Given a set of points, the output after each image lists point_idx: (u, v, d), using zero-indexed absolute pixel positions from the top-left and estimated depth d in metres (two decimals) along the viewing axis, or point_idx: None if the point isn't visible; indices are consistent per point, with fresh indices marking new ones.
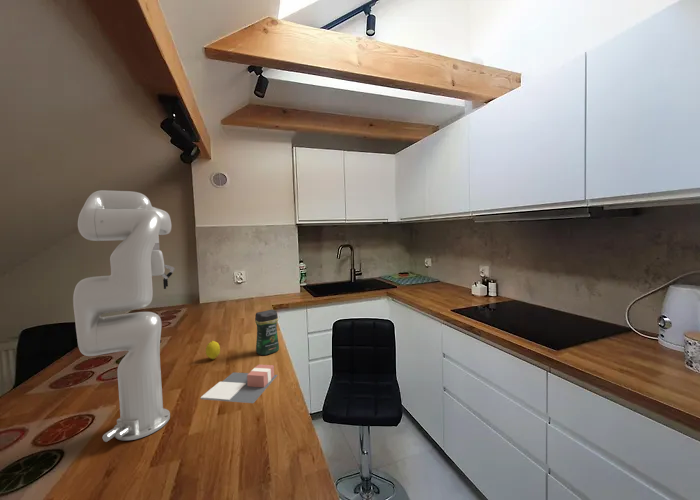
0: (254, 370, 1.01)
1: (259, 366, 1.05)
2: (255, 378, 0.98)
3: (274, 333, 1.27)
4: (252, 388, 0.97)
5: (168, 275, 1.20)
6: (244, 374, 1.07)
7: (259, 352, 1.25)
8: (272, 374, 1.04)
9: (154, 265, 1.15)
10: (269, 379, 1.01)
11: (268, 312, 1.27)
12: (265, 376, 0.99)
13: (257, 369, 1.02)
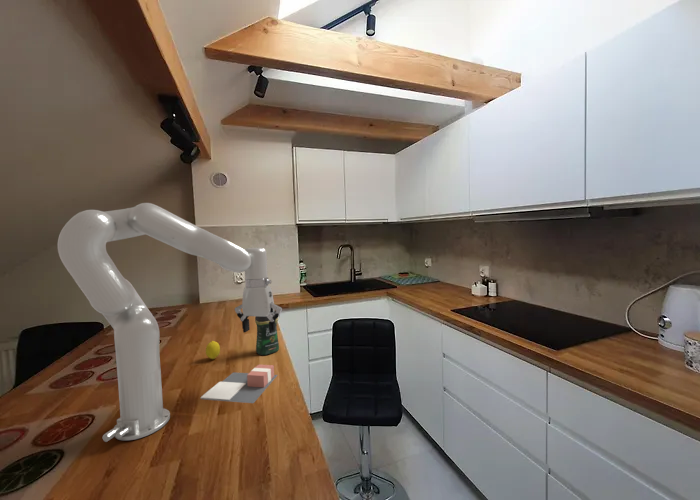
0: (254, 370, 1.01)
1: (259, 366, 1.05)
2: (255, 378, 0.98)
3: (274, 333, 1.27)
4: (252, 388, 0.97)
5: None
6: (244, 374, 1.07)
7: (259, 352, 1.25)
8: (272, 374, 1.04)
9: None
10: (269, 379, 1.01)
11: None
12: (265, 376, 0.99)
13: (257, 369, 1.02)
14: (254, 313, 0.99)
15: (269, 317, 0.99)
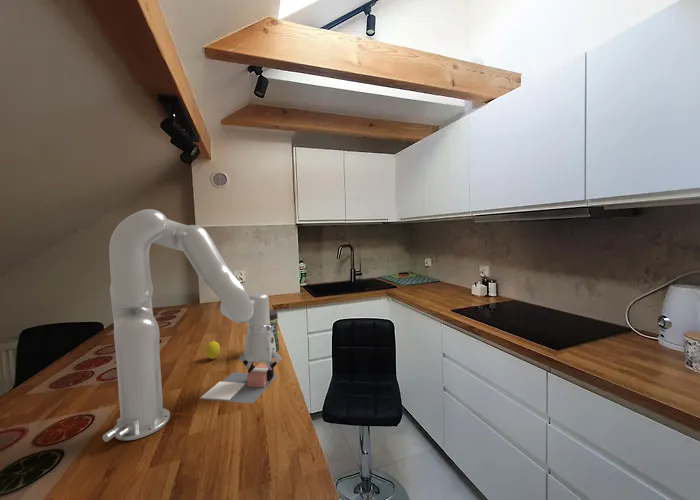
0: (254, 370, 1.01)
1: (259, 366, 1.05)
2: (255, 378, 0.98)
3: (274, 333, 1.27)
4: (252, 388, 0.97)
5: None
6: (244, 374, 1.07)
7: None
8: None
9: None
10: None
11: None
12: (265, 376, 0.99)
13: (258, 369, 1.02)
14: (256, 359, 0.99)
15: (268, 365, 1.00)
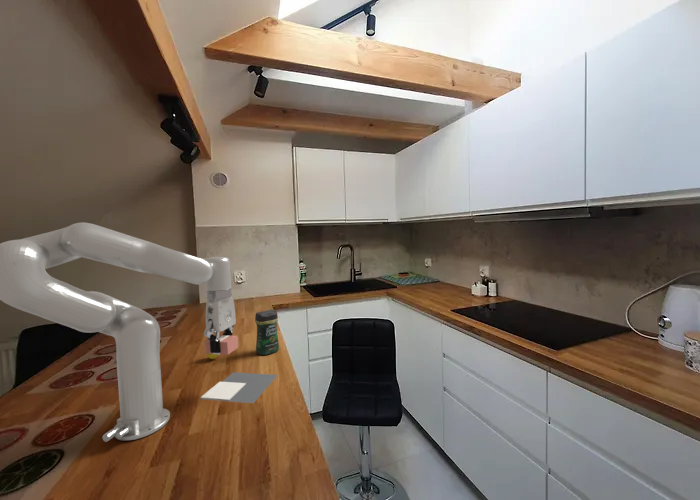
0: (223, 336, 0.97)
1: (231, 336, 0.97)
2: None
3: (274, 333, 1.27)
4: (252, 388, 0.97)
5: (232, 328, 1.00)
6: (244, 374, 1.07)
7: (259, 352, 1.25)
8: (223, 350, 0.92)
9: (231, 314, 0.96)
10: None
11: (268, 312, 1.27)
12: (208, 344, 0.93)
13: (224, 337, 0.96)
14: None
15: None
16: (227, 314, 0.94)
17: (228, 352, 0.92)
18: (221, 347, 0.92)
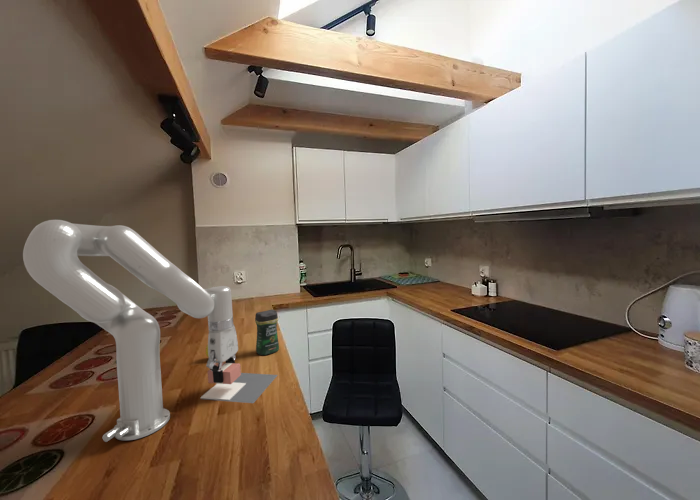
0: (226, 364, 0.98)
1: (234, 365, 0.97)
2: None
3: (274, 333, 1.27)
4: (252, 388, 0.97)
5: (234, 355, 1.01)
6: (244, 374, 1.07)
7: (259, 352, 1.25)
8: (226, 380, 0.93)
9: (233, 343, 0.97)
10: None
11: (268, 312, 1.27)
12: (211, 373, 0.94)
13: (226, 365, 0.97)
14: None
15: None
16: (229, 343, 0.95)
17: (231, 381, 0.93)
18: (224, 377, 0.93)
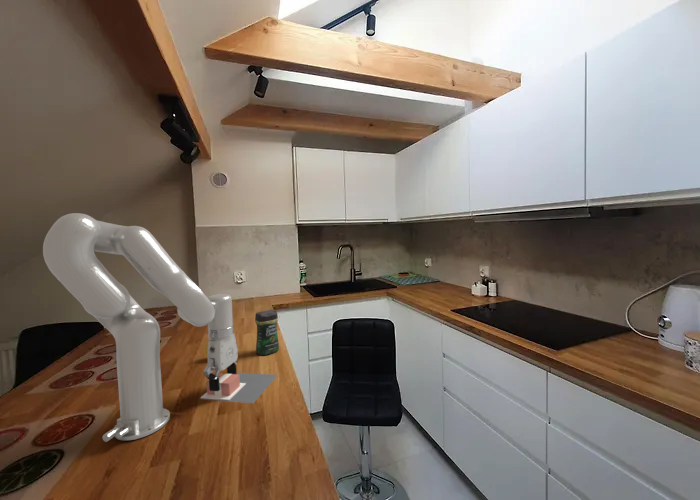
0: (225, 375, 0.98)
1: (233, 375, 0.97)
2: None
3: (274, 333, 1.27)
4: (252, 388, 0.97)
5: None
6: (244, 374, 1.07)
7: (259, 352, 1.25)
8: (225, 391, 0.93)
9: (233, 351, 0.97)
10: (218, 392, 0.93)
11: (268, 312, 1.27)
12: None
13: (225, 376, 0.97)
14: None
15: None
16: (229, 352, 0.95)
17: (230, 393, 0.93)
18: (223, 388, 0.93)
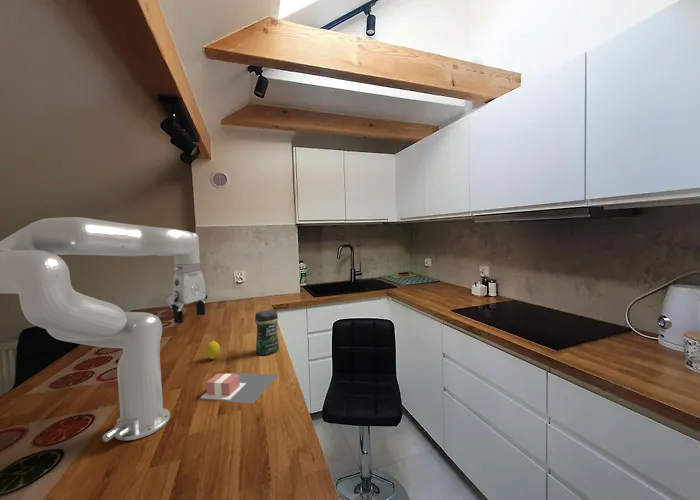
0: (225, 375, 0.98)
1: (233, 375, 0.97)
2: None
3: (274, 333, 1.27)
4: (252, 388, 0.97)
5: (205, 299, 1.05)
6: (244, 374, 1.07)
7: (259, 352, 1.25)
8: (225, 391, 0.93)
9: (199, 288, 1.00)
10: (218, 392, 0.93)
11: (268, 312, 1.27)
12: (210, 384, 0.93)
13: (225, 376, 0.97)
14: None
15: None
16: (195, 288, 0.98)
17: (230, 393, 0.93)
18: (223, 388, 0.93)
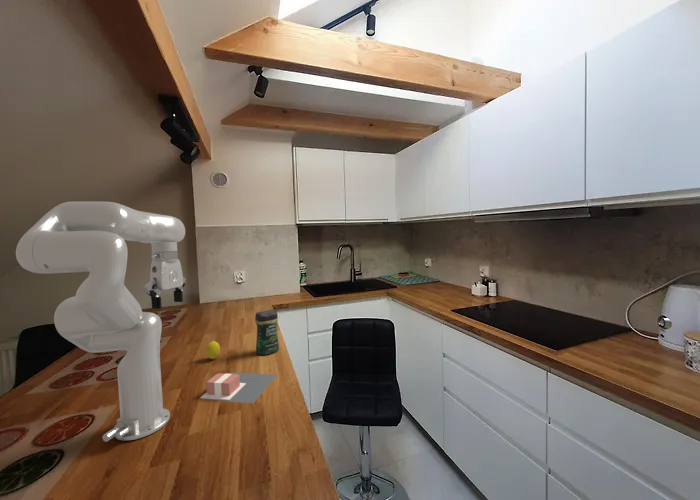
0: (225, 375, 0.98)
1: (233, 375, 0.97)
2: None
3: (274, 333, 1.27)
4: (252, 388, 0.97)
5: (182, 286, 1.08)
6: (244, 374, 1.07)
7: (259, 352, 1.25)
8: (225, 391, 0.93)
9: (177, 275, 1.03)
10: (218, 392, 0.93)
11: (268, 312, 1.27)
12: (210, 384, 0.93)
13: (225, 376, 0.97)
14: None
15: None
16: (172, 275, 1.01)
17: (230, 393, 0.93)
18: (223, 388, 0.93)
